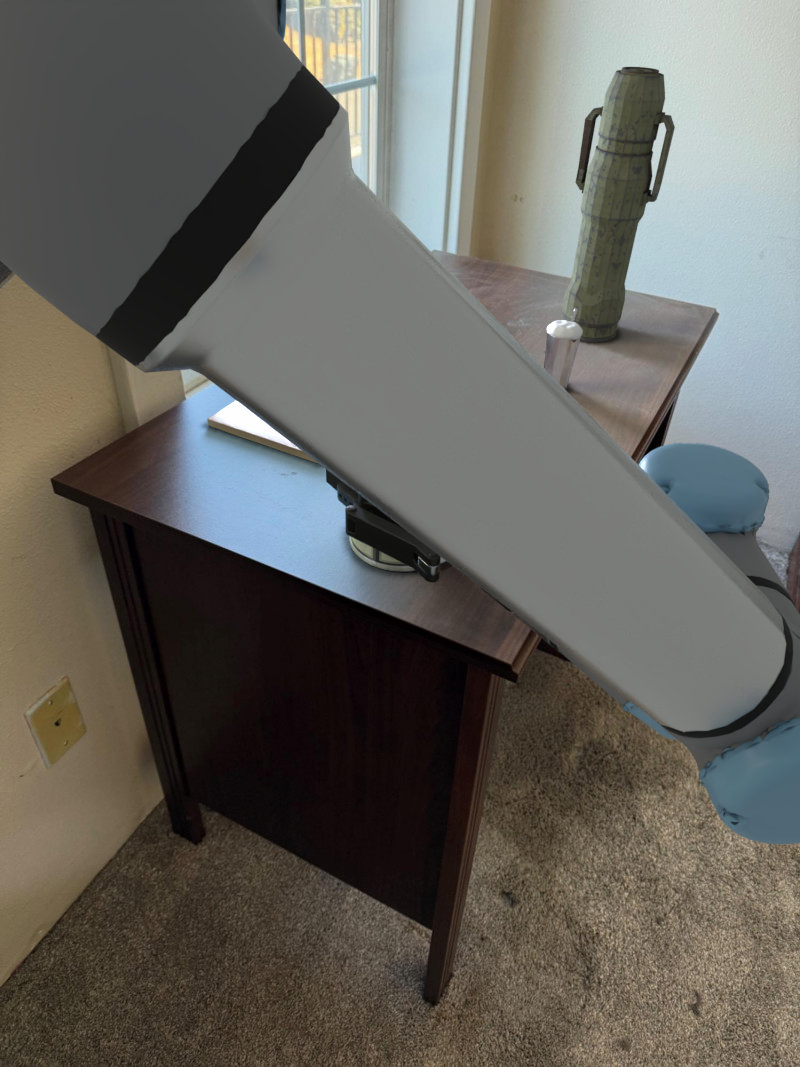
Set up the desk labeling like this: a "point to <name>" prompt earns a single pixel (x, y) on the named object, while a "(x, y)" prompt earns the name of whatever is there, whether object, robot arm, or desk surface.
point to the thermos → (615, 196)
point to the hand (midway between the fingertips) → (375, 451)
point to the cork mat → (252, 429)
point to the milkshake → (562, 348)
